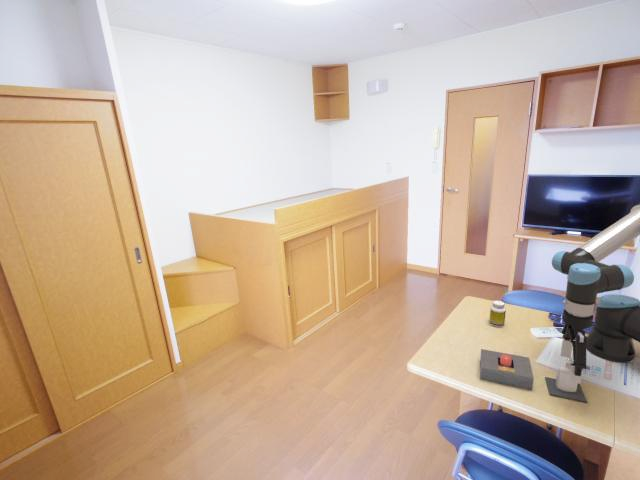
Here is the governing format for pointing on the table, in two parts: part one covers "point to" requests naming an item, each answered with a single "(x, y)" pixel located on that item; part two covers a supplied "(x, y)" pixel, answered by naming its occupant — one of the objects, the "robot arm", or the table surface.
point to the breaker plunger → (505, 360)
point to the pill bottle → (497, 314)
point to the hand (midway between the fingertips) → (570, 368)
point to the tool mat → (563, 394)
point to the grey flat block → (506, 370)
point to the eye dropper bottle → (565, 378)
